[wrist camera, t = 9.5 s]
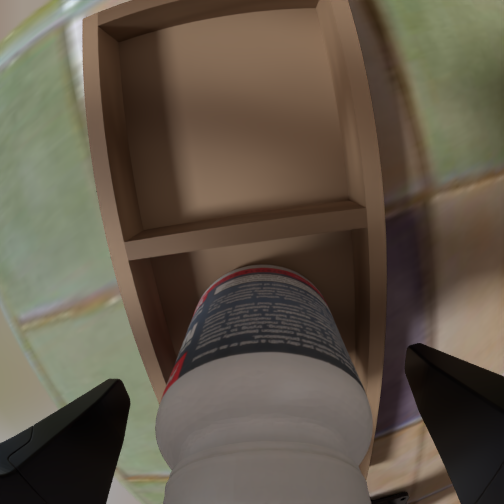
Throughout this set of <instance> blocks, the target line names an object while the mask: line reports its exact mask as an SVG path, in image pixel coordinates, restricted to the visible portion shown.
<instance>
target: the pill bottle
mask: <svg viewBox="0 0 504 504" xmlns="http://www.w3.org/2000/svg"><path fill="white" fill-rule="evenodd" d="M155 431H156V440H157V444H158V447H159V449H160V452H161V454H162V456H163V458H164V459H165V461H166V463H167V464H168V466H169V467H170V468H171V470H172V472H171V474H170V477H169V480H168V482H167V483H166V487H165V497H164V502H163V504H371V500H370V496H369V492H368V488H367V482H366V480H365V478H364V476H363V475H362V473H361V471H360V468H359V465H360V463H361V462H362V460H363V459H364V457H365V455H366V453H367V451H368V449H369V446H370V443H371V438H372V432H373V419H372V412H371V408H370V404H369V401H368V398H367V395H366V392H365V390H364V387H363V385H362V383H361V381H360V378H359V376H358V374H357V372H356V370H355V367H354V365H353V363H352V361H351V358H350V356H349V354H348V351H347V349H346V347H345V345H344V342H343V340H342V338H341V335H340V333H339V331H338V328H337V326H336V324H335V321H334V319H333V316H332V314H331V312H330V309H329V307H328V305H327V303H326V301H325V299H324V298H323V296H322V294H321V293H320V291H319V290H318V289H317V288H316V287H315V285H314V284H313V283H311V282H310V281H309V280H308V279H306V278H305V277H304V276H302V275H300V274H299V273H297V272H295V271H292V270H290V269H287V268H284V267H279V266H274V265H251V266H246V267H242V268H239V269H236V270H233V271H231V272H229V273H227V274H225V275H224V276H222V277H220V278H219V279H218V280H216V281H215V282H214V283H213V284H212V285H211V286H210V287H209V288H208V289H207V290H206V291H205V293H204V294H203V296H202V297H201V299H200V301H199V303H198V305H197V307H196V310H195V312H194V315H193V318H192V320H191V323H190V325H189V327H188V331H187V333H186V336H185V339H184V341H183V344H182V347H181V349H180V351H179V354H178V357H177V360H176V362H175V365H174V367H173V370H172V372H171V375H170V377H169V380H168V382H167V385H166V388H165V390H164V393H163V396H162V399H161V402H160V405H159V409H158V413H157V417H156V426H155Z"/></svg>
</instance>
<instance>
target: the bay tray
mask: <svg viewBox="0 0 504 504" xmlns="http://www.w3.org/2000/svg"><path fill="white" fill-rule="evenodd" d="M83 76H84V93H85V106H86V117H87V126H88V135H89V143H90V151H91V158H92V165H93V171H94V178H95V184H96V189H97V195H98V200H99V206H100V211H101V216H102V220H103V225H104V230H105V234H106V239H107V243H108V247H109V251H110V255H111V260H112V263H113V267H114V271H115V275H116V279H117V282H118V286H119V289H120V293H121V296H122V300H123V303H124V307H125V310H126V313H127V316H128V320H129V323H130V326H131V329H132V332H133V335H134V338H135V341H136V344H137V347H138V350H139V352H140V355H141V358H142V361H143V364H144V366H145V369H146V372H147V374H148V377H149V379H150V382H151V385H152V387H153V390H154V392H155V395H156V397H157V400H158V402H159V404H160V402H161V399H162V396H163V393H164V390H165V388H166V385H167V382H168V380H169V377H170V375H171V372H172V370H173V367H174V365H175V362H176V360H177V357H178V354H179V351H180V349H181V347H182V344H183V341H184V339H185V336H186V333H187V331H188V327H189V325H190V323H191V320H192V318H193V315H194V312H195V310H196V307H197V305H198V303H199V301H200V299H201V297H202V296H203V294H204V293H205V291H206V290H207V289H208V288H209V287H210V286H211V285H212V284H213V283H214V282H215V281H216V280H218V279H219V278H220V277H222V276H224V275H225V274H227V273H229V272H231V271H233V270H236V269H239V268H242V267H246V266H251V265H274V266H279V267H284V268H287V269H290V270H292V271H295V272H297V273H299V274H300V275H302V276H304V277H305V278H306V279H308V280H309V281H310V282H311V283H313V284H314V285H315V287H316V288H317V289H318V290H319V291H320V293H321V294H322V296H323V298H324V299H325V301H326V303H327V305H328V307H329V309H330V312H331V314H332V316H333V319H334V321H335V324H336V326H337V328H338V331H339V333H340V335H341V338H342V340H343V342H344V345H345V347H346V349H347V351H348V354H349V356H350V358H351V361H352V363H353V365H354V367H355V370H356V372H357V374H358V376H359V378H360V381H361V383H362V385H363V387H364V390H365V392H366V395H367V398H368V401H369V404H370V408H371V412H372V419H373V432H372V438H371V443H370V446H369V449H368V451H367V453H366V455H365V457H364V459H363V460H362V462H361V463H360V465H359V468H360V471H361V473H362V475H363V476H364V478H365V480H366V479H367V474H368V470H369V465H370V459H371V454H372V448H373V443H374V436H375V430H376V424H377V417H378V409H379V401H380V393H381V383H382V373H383V362H384V348H385V331H386V304H387V253H386V226H385V209H384V195H383V183H382V173H381V163H380V155H379V146H378V139H377V132H376V125H375V118H374V112H373V106H372V100H371V95H370V89H369V84H368V79H367V74H366V69H365V65H364V60H363V56H362V51H361V47H360V43H359V39H358V35H357V31H356V27H355V23H354V20H353V16H352V13H351V9H350V6H349V2H348V0H131V1H128V2H125V3H122V4H119V5H117V6H114V7H111V8H109V9H106V10H103V11H101V12H98V13H96V14H93V15H91V16H89V17H86V18H84V19H83Z"/></svg>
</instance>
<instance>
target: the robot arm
mask: <svg viewBox="0 0 504 504" xmlns="http://www.w3.org/2000/svg"><path fill="white" fill-rule="evenodd" d="M405 374H406V377H407V380H408V382H409V385H410V388H411V390H412V393H413V396H414V399H415V402H416V405H417V407H418V410H419V412H420V414H421V417H422V419H423V421H424V423H425V425H426V427H427V429H428V431H429V433H430V435H431V437H432V439H433V441H434V444H435V446H436V448H437V450H438V452H439V454H440V457H441V459H442V461H443V463H444V465H445V468H446V470H447V472H448V474H449V477H450V479H451V481H452V484H453V486H454V488H455V491H456V493H457V496H458V498H459V500H460V503H461V504H504V376H502V375H499V374H497V373H494V372H491V371H489V370H486V369H484V368H481V367H479V366H476V365H474V364H471V363H469V362H466V361H464V360H461V359H459V358H456V357H454V356H451V355H449V354H446V353H444V352H441V351H439V350H436V349H434V348H431V347H429V346H426V345H424V344H421V343H417V344H413V345H409V346H408V348H407V352H406V360H405ZM129 409H130V398H129V395H128V393H127V391H126V389H125V386H124V384H123V382H122V381H121V380H120V379H108V380H106V381H105V382H103V383H101V384H100V385H98V386H97V387H95V388H93V389H92V390H90V391H89V392H87V393H85V394H84V395H82V396H81V397H79V398H77V399H76V400H74V401H72V402H71V403H69V404H68V405H66V406H64V407H63V408H61V409H59V410H58V411H56V412H55V413H53V414H51V415H50V416H48V417H46V418H45V419H43V420H41V421H40V422H38V423H36V424H35V425H34V426H31V427H30V428H28V429H26V430H24V431H23V432H21V433H19V434H17V435H16V436H14V437H12V438H10V439H8V440H6V441H4V442H2V443H0V504H106V502H107V498H108V494H109V491H110V487H111V483H112V479H113V476H114V472H115V469H116V465H117V462H118V458H119V455H120V452H121V448H122V445H123V441H124V436H125V430H126V425H127V419H128V414H129ZM408 498H409V495H408V493H407V492H404V493H400V494H397V495H394V496H391V497H387V498H384V499H380V500H376V501H372V502H371V504H406V502H407V500H408Z"/></svg>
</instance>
